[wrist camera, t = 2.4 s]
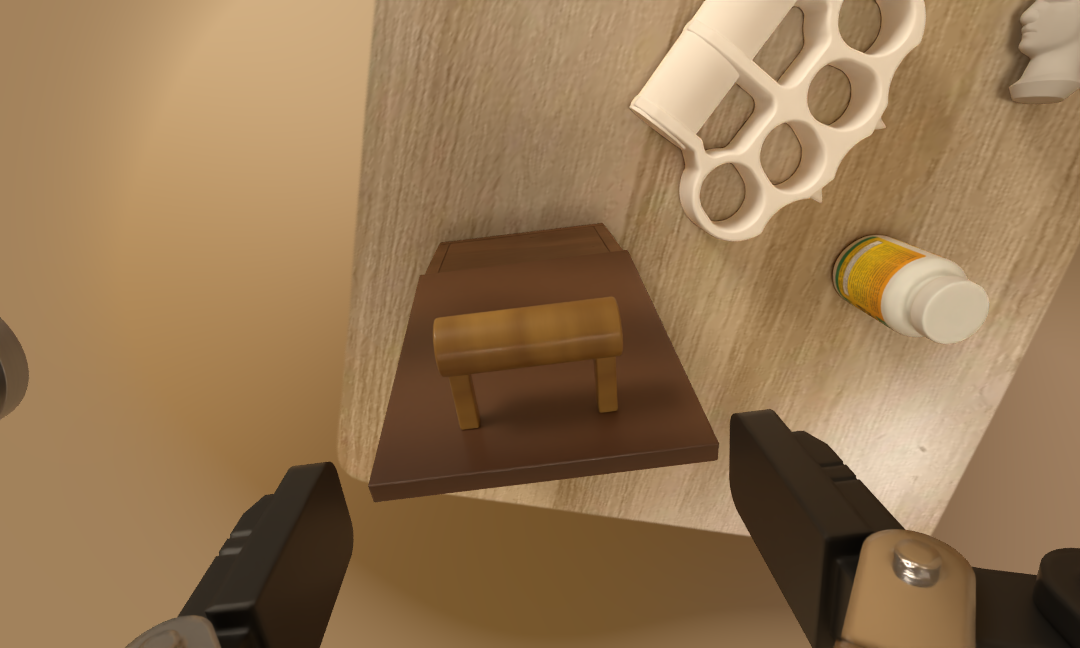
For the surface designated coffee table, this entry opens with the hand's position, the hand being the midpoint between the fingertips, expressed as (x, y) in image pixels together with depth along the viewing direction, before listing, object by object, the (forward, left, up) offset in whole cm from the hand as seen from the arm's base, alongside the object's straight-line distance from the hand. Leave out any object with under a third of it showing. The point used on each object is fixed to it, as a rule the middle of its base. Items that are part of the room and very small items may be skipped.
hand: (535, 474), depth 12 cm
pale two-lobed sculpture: (+13, +33, -31) cm, 47 cm away
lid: (+3, -2, -14) cm, 14 cm away
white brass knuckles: (+5, +17, -31) cm, 36 cm away
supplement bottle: (+20, +17, -31) cm, 41 cm away
